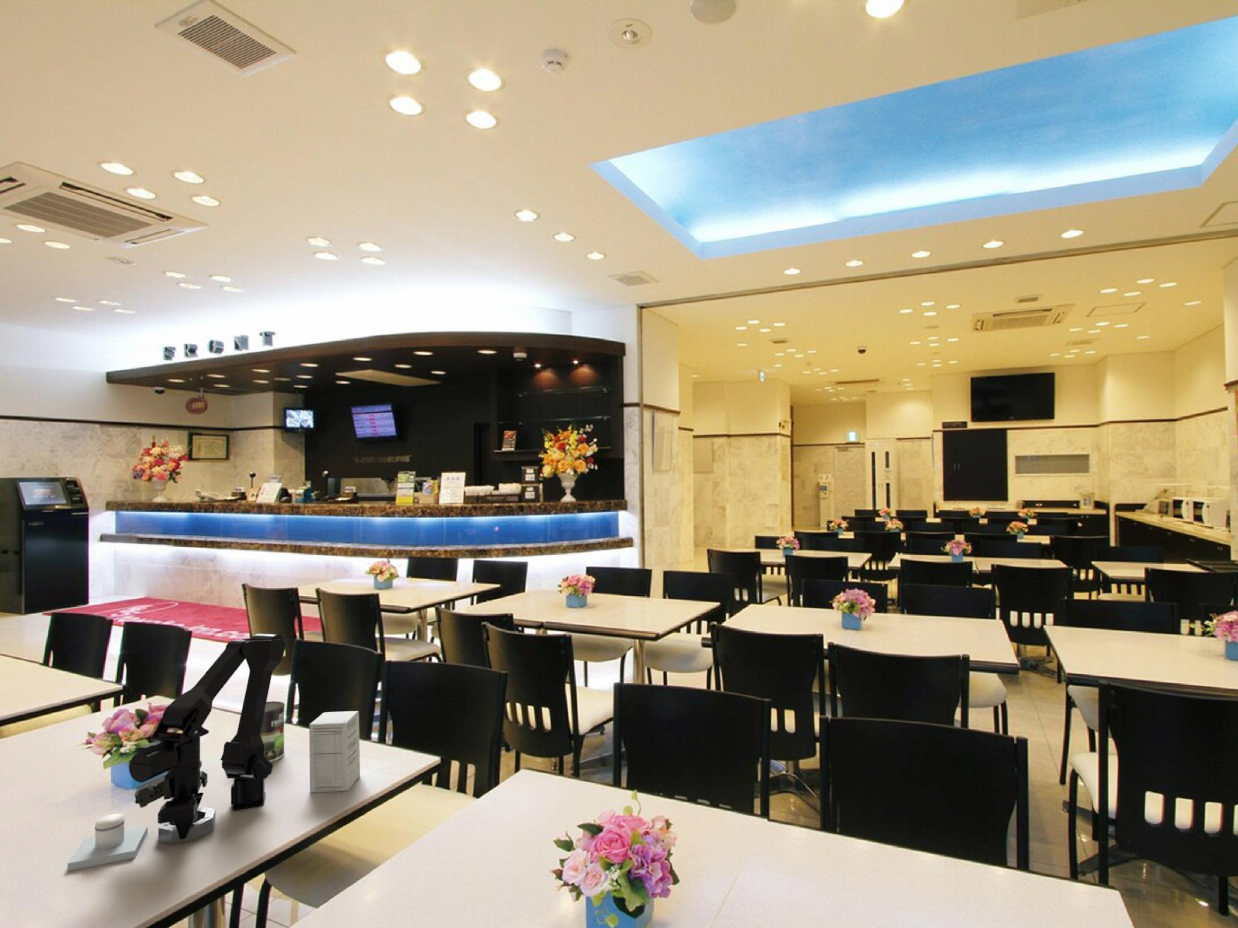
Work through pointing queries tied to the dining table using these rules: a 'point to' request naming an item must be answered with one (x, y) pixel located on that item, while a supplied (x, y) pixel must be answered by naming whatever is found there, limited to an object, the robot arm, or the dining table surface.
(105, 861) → the piston base
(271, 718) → the coffee can
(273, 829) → the dining table surface
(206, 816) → the steel ring
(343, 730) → the supplement box
